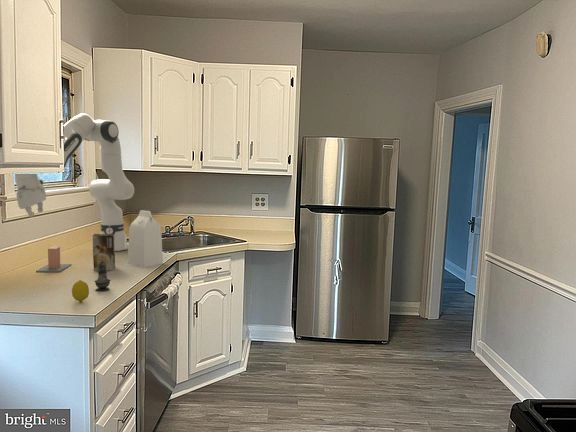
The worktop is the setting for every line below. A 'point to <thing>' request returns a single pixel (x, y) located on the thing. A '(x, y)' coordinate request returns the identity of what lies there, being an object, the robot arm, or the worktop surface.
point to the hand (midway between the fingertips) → (36, 214)
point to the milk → (145, 241)
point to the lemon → (80, 291)
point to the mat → (59, 269)
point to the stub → (53, 257)
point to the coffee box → (104, 250)
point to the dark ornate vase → (102, 278)
